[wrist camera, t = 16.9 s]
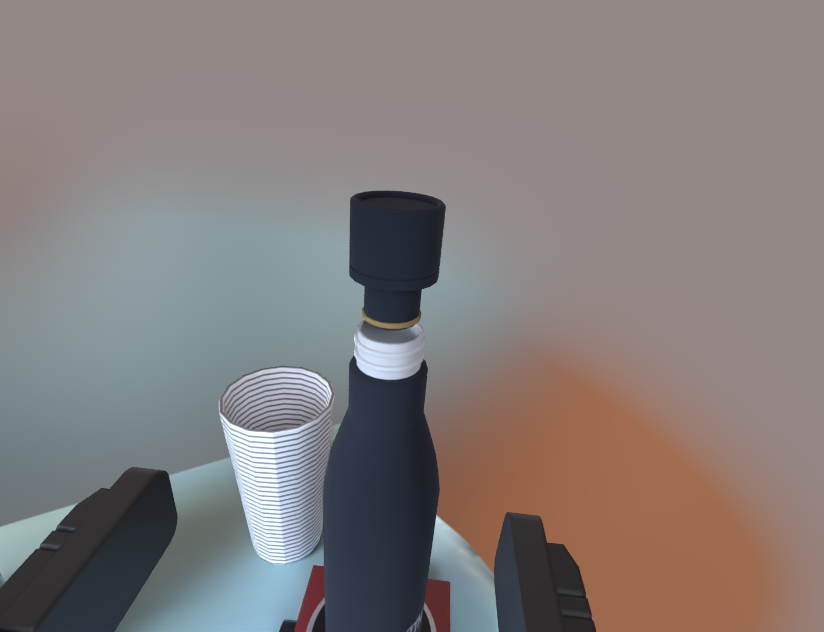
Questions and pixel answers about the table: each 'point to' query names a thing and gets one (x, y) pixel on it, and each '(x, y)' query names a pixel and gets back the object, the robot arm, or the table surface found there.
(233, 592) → the table surface
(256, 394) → the cup
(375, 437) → the water bottle
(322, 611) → the hot plate
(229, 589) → the table surface
